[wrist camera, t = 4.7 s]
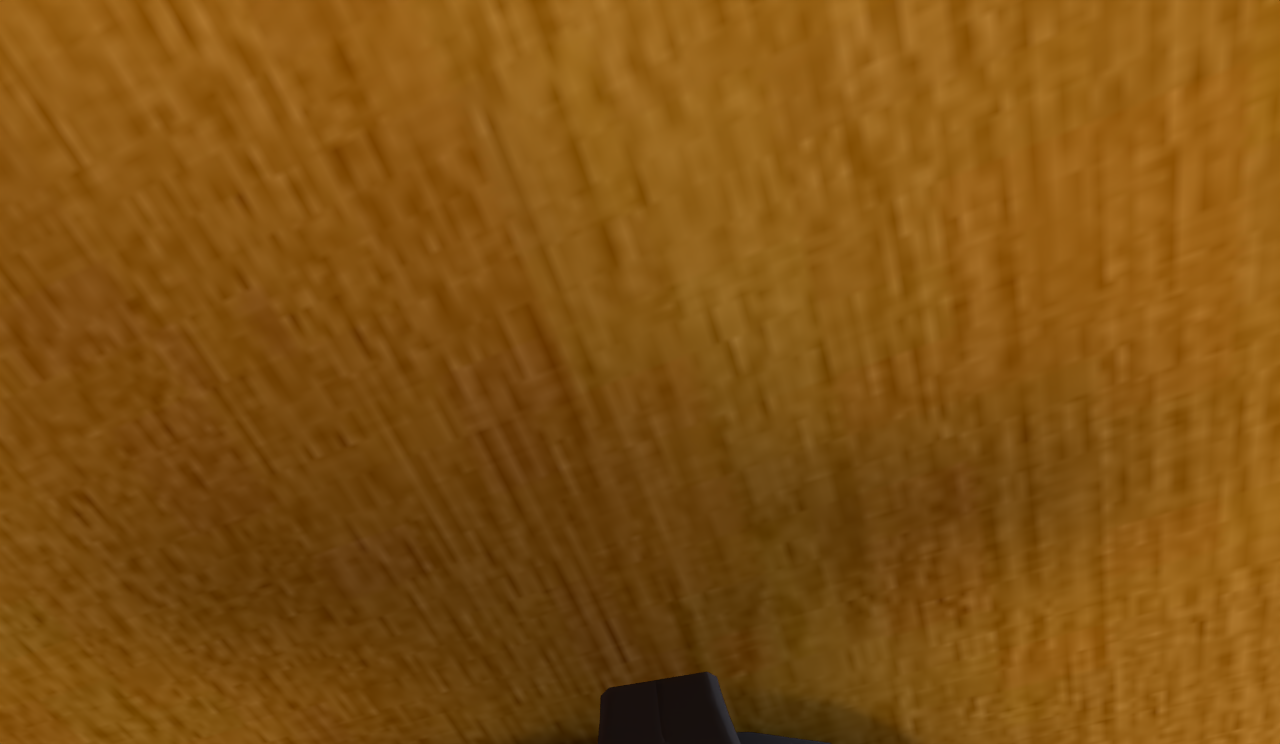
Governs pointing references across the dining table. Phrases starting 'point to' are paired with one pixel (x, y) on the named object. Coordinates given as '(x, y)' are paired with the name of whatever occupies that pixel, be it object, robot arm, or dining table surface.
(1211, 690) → the dining table surface
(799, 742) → the coffee jar
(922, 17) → the dining table surface
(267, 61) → the dining table surface
